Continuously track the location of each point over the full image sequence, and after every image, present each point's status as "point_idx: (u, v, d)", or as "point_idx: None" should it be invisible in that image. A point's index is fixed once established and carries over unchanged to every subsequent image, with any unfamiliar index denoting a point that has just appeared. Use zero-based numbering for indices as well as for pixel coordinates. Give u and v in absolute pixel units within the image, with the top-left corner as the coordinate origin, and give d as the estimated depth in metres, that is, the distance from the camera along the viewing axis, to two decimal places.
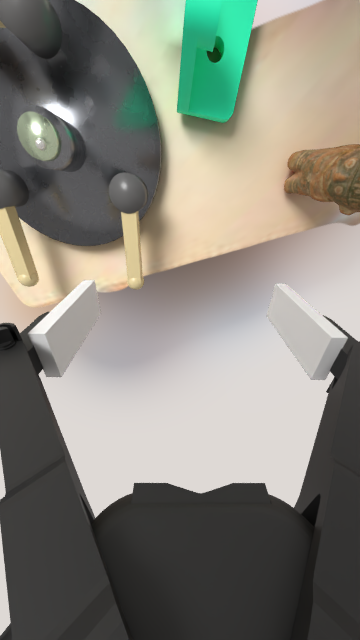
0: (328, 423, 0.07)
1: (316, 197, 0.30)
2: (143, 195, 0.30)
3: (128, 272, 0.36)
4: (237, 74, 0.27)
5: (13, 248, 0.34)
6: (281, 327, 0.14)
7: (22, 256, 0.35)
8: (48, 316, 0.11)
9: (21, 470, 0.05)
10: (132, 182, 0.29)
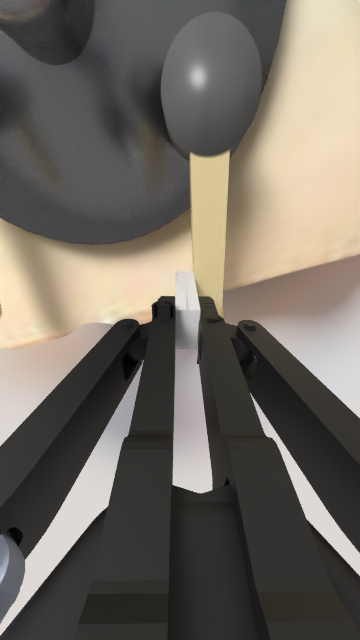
0: (209, 397, 0.08)
1: None
2: (257, 91, 0.11)
3: None
4: None
5: None
6: None
7: None
8: (177, 298, 0.13)
9: (142, 423, 0.06)
10: (230, 47, 0.10)
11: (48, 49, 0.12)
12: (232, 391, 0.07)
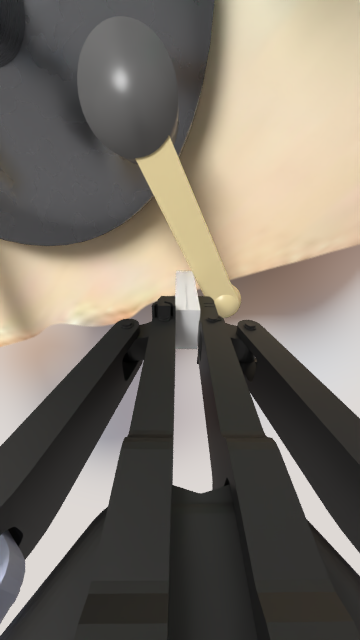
0: (209, 397, 0.08)
1: None
2: (170, 66, 0.10)
3: (204, 291, 0.16)
4: None
5: None
6: None
7: None
8: (177, 298, 0.13)
9: (142, 423, 0.06)
10: (126, 44, 0.10)
11: None
12: (232, 391, 0.07)
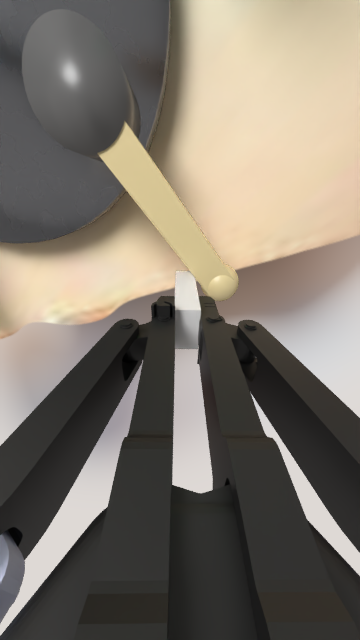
0: (209, 397, 0.08)
1: None
2: (109, 48, 0.10)
3: (197, 275, 0.16)
4: None
5: None
6: None
7: None
8: (177, 298, 0.13)
9: (141, 423, 0.06)
10: (62, 38, 0.10)
11: None
12: (232, 391, 0.07)
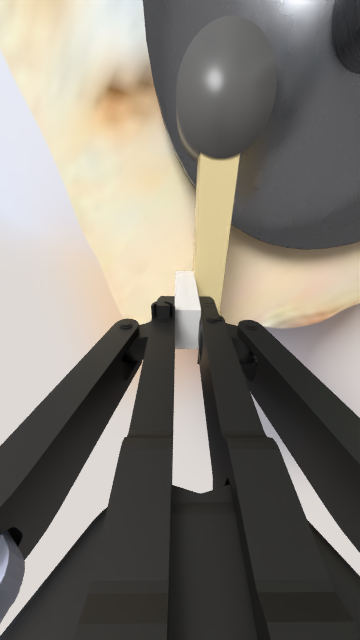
0: (209, 397, 0.08)
1: None
2: None
3: None
4: None
5: (213, 257, 0.15)
6: None
7: (222, 275, 0.16)
8: (177, 298, 0.13)
9: (141, 424, 0.06)
10: None
11: None
12: (233, 391, 0.07)
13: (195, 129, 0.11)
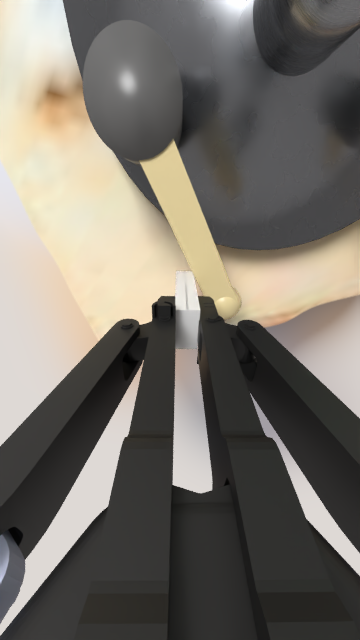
0: (209, 397, 0.08)
1: None
2: None
3: None
4: None
5: (200, 244, 0.14)
6: None
7: (218, 256, 0.15)
8: (177, 298, 0.13)
9: (142, 423, 0.06)
10: None
11: (311, 61, 0.12)
12: (232, 391, 0.07)
13: (124, 144, 0.12)
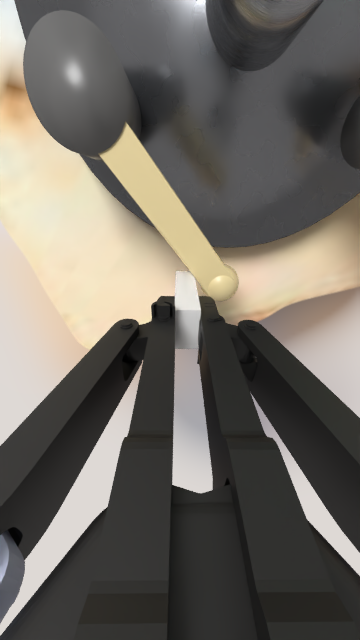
0: (209, 397, 0.08)
1: None
2: None
3: None
4: None
5: (180, 226, 0.14)
6: None
7: (201, 234, 0.14)
8: (177, 298, 0.13)
9: (141, 423, 0.06)
10: None
11: (263, 56, 0.12)
12: (232, 391, 0.07)
13: (79, 141, 0.12)
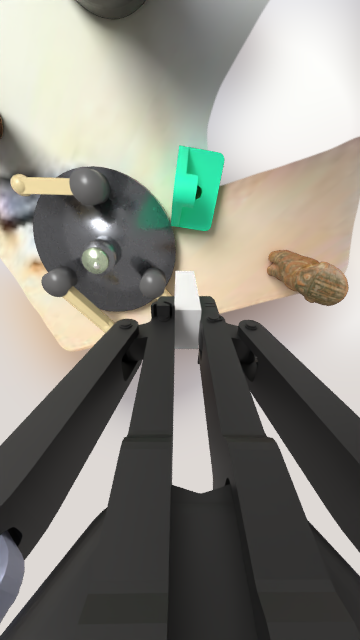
0: (209, 397, 0.08)
1: (288, 287, 0.42)
2: (161, 280, 0.41)
3: None
4: (212, 205, 0.38)
5: (88, 312, 0.45)
6: None
7: (96, 314, 0.45)
8: (176, 298, 0.13)
9: (141, 423, 0.06)
10: (150, 278, 0.41)
11: None
12: (233, 391, 0.07)
13: (56, 294, 0.42)
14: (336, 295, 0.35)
